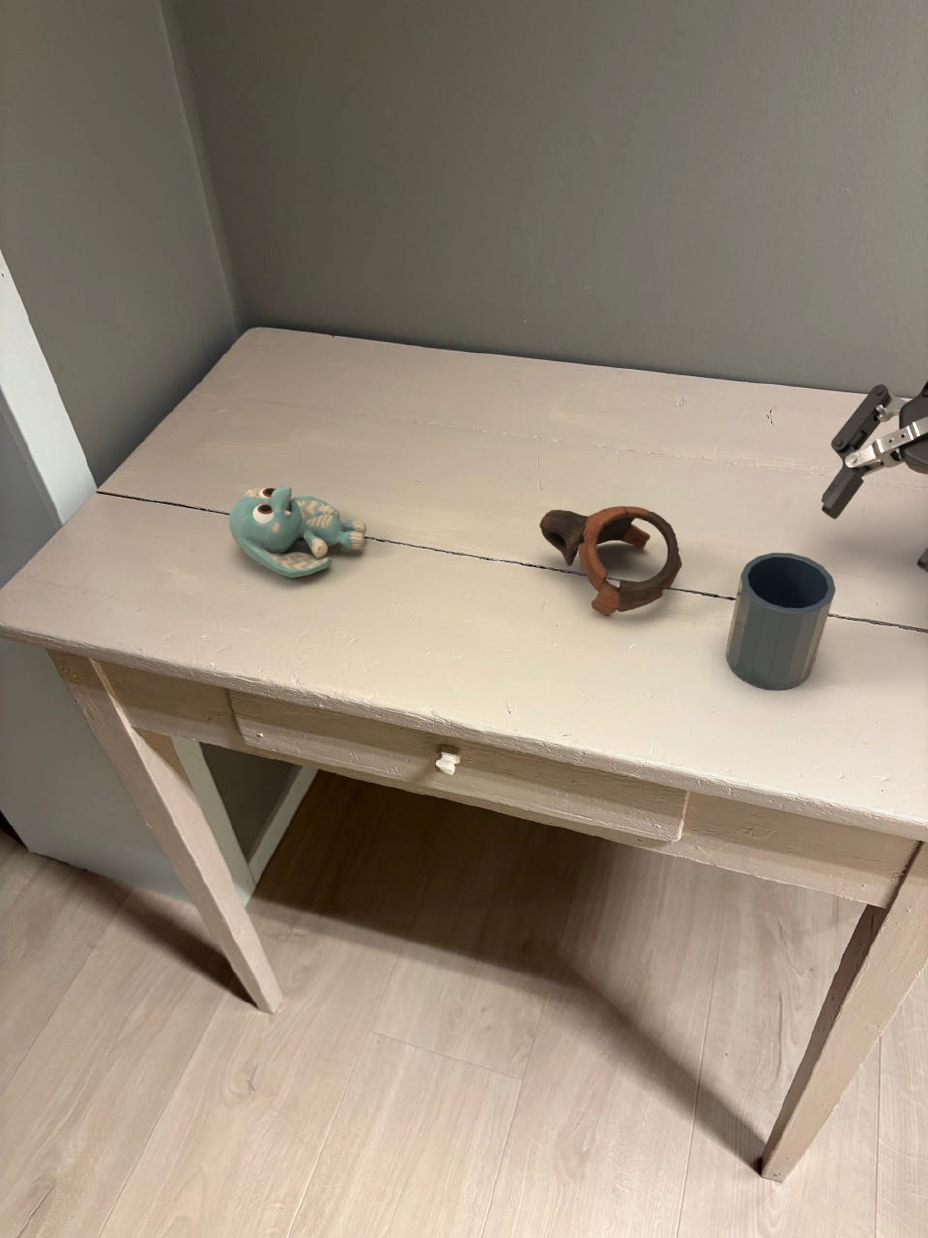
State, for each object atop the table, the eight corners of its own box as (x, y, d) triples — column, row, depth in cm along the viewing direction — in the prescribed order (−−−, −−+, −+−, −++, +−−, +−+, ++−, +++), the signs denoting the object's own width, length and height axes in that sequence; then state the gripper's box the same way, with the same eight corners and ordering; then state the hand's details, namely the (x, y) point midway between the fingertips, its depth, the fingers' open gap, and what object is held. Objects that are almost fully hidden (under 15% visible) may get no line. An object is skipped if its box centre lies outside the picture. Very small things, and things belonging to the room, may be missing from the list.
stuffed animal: (361, 538, 78) (213, 519, 77) (356, 601, 83) (217, 584, 82) (375, 462, 86) (240, 443, 85) (369, 524, 91) (242, 507, 90)
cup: (784, 622, 76) (804, 544, 71) (828, 678, 72) (853, 600, 66) (711, 641, 75) (725, 563, 70) (751, 699, 71) (770, 621, 65)
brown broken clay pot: (677, 549, 84) (703, 514, 76) (645, 646, 82) (668, 620, 74) (549, 502, 85) (561, 462, 77) (512, 597, 82) (522, 566, 74)
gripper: (912, 299, 71) (783, 485, 75) (1103, 372, 63) (947, 577, 66) (934, 341, 77) (813, 511, 81) (1112, 412, 69) (968, 600, 72)
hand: (874, 541), depth 73 cm, fingers open, 8 cm apart
